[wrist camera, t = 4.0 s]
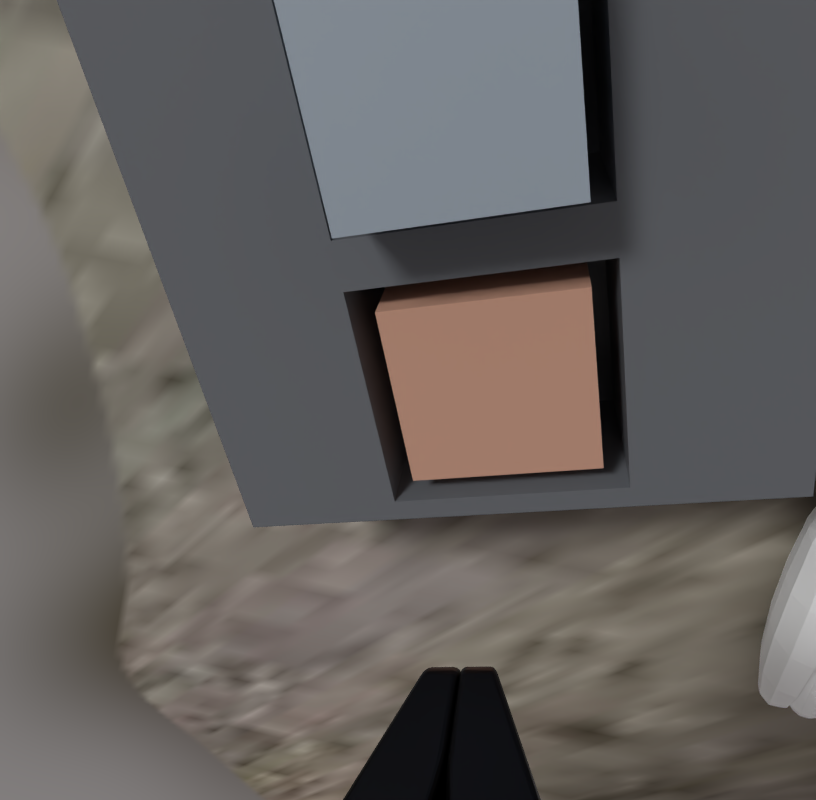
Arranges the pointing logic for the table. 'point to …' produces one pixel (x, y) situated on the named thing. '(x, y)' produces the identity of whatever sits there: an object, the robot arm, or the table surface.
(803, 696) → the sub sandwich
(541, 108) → the key slate
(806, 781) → the table surface
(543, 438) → the key terracotta
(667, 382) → the keypad
